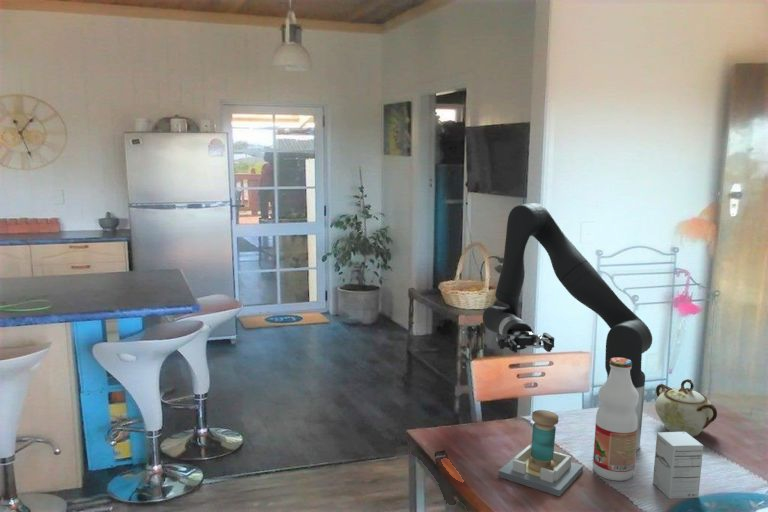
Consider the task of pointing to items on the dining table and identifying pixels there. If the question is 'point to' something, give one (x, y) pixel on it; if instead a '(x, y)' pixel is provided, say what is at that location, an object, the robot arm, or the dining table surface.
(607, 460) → the fruit juice
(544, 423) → the spool
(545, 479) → the white grey square tray
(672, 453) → the supplement box
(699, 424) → the sugar bowl
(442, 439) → the dining table surface
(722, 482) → the dining table surface
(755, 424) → the dining table surface
